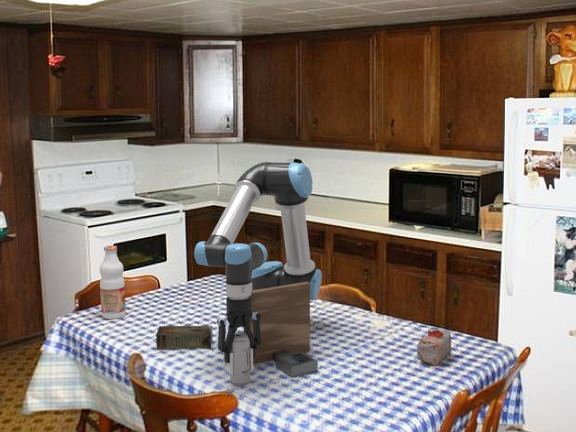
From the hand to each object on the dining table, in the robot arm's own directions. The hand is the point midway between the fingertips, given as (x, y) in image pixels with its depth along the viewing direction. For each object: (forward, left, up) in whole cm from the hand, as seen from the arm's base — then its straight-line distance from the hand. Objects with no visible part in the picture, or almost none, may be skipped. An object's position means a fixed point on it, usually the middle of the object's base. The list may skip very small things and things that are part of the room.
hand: (240, 370), depth 211 cm
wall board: (-12, +20, -4) cm, 24 cm away
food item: (+16, +63, -4) cm, 65 cm away
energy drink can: (0, 0, -4) cm, 4 cm away
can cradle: (-3, +20, -4) cm, 21 cm away
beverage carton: (-39, -2, -4) cm, 39 cm away
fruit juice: (-85, -13, -4) cm, 86 cm away
